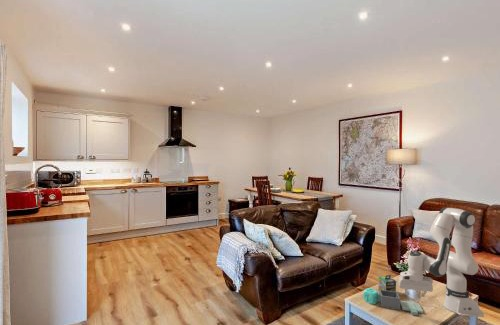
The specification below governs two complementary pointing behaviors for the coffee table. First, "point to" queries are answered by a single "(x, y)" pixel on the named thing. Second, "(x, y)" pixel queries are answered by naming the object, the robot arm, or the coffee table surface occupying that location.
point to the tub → (389, 299)
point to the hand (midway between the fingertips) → (415, 295)
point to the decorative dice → (371, 296)
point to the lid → (411, 307)
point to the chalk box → (387, 283)
